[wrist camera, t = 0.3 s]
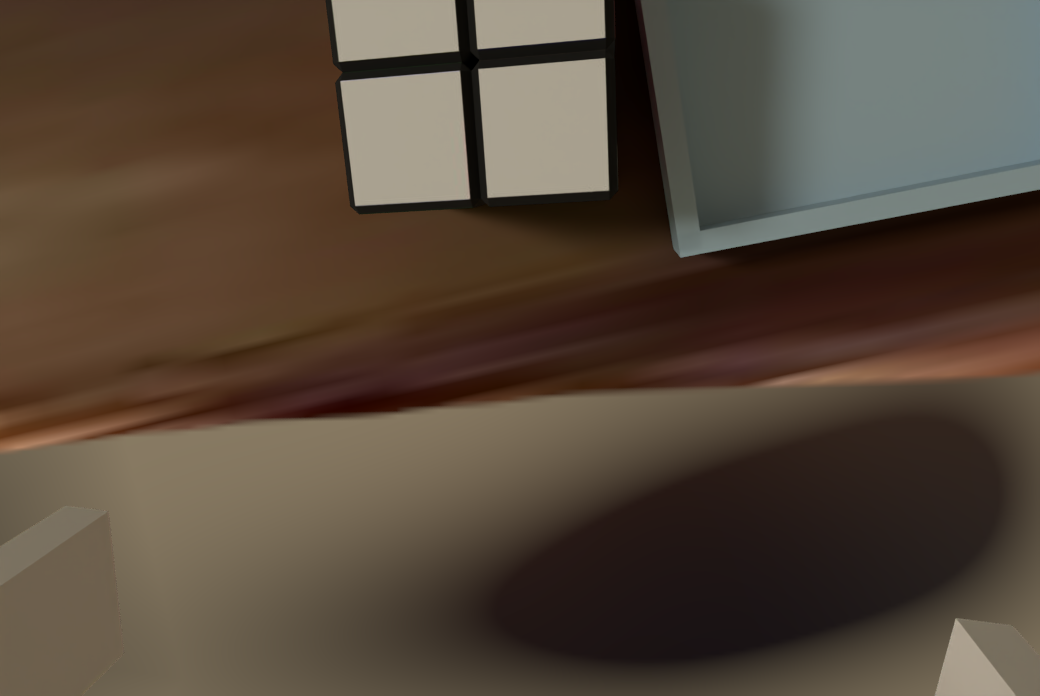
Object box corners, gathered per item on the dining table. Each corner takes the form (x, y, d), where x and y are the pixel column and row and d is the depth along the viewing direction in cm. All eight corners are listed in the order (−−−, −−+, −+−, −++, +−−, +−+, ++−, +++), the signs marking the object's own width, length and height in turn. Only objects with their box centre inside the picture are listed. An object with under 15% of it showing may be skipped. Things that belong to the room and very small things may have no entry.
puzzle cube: (609, -34, 31) (611, -125, 21) (616, 190, 33) (620, 200, 24) (398, -12, 32) (310, -87, 23) (419, 203, 35) (347, 216, 25)
